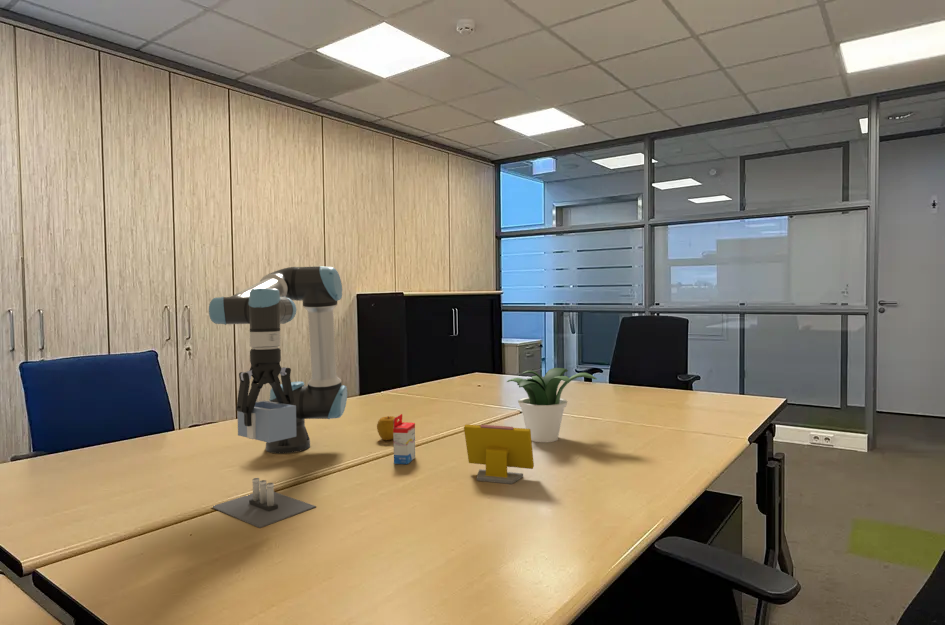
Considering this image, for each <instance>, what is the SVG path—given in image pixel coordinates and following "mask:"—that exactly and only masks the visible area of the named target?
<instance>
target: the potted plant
mask: <svg viewBox="0 0 945 625" xmlns="http://www.w3.org/2000/svg"><path fill="white" fill-rule="evenodd" d="M568 371H569V370H568V369H567V368H563V367H553V368H550V369H549V370H548V371H547V372H546V373H545V374H544V376H541V375H540V374H539V373H537V372H536V371H534V370H531V369H530V370H529V369H528V370H526V371H523V372H522V373H521V375H523V374H524V375H525V374H533V376H531V378H520V377H515V378H511V379H508V380H506V383H509V382H514V383H517V386H518V388H523V390H524V391H525V393H526V394H527V396H528V397H523V398H520V399H518V400H517V402H518V405H519V407H520V408H521V414H522V417H523V422H524V426H525V429H530V430H531V441H532V442H537V443H551V442H552V443H553V442H557V441H558V439H559V434H560V429H561V425H562V420H563V414H564V410H565V408H566V407H567V404H568V401H567V399H564V398H561V396H562V392H563V390H564V389H565V388H566V387H567V385H568V384H569V383H570V382H572V381H573V380H576V379H578V378H589V379H593V380H597V377H595V375H592V374H590V373H588V372H579V373H575V374H574V375H571V376H570V377H569V376H567V375H565V373H567V372H568ZM561 381H563V383H562V384H561ZM560 384H561V386H560V387H559V385H560ZM558 388H559V389H558Z"/></svg>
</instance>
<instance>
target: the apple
mask: <svg viewBox="0 0 945 625" xmlns="http://www.w3.org/2000/svg"><path fill="white" fill-rule="evenodd" d="M396 417H397V416H396ZM396 417H395V416H390V415H388V416H382V417H380V418H379V419H378V421H377V423H376V429H377V433H378V435H379V437H380V439H382V440H383V441H391V440H393V424H394V418H396ZM398 421H399V419H398V420H397V422H398Z"/></svg>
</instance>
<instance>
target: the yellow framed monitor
mask: <svg viewBox="0 0 945 625" xmlns="http://www.w3.org/2000/svg"><path fill="white" fill-rule="evenodd" d="M463 431H464V437H465V445H466V446H465V447H466V451H467V452H466V454H467V459H468V463H469V464H476V465H485V469H481V468H480V469H479V470H478V473H477V475H476V481H479V482H486V483H487V482H489V483H497V484H498V483H499V484H509V485H513V484H514V483H515V482H517V481H519V480H520V479H521V478H523V477H524V473H522V472H521V473H520V472H512V471H508V468H517V469H531V470H533V469H534V467H535V463H534V454H533V453H534V451H533V441H531V430H530V429H526V427H525V428H523V427H520V428H519V427H514V426H505V425H504V426H503V425H494V424H493V425H492V424H490V425H489V424H481V425H477V424H467V423H466V424H465V425H464V427H463Z"/></svg>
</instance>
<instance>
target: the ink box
mask: <svg viewBox="0 0 945 625" xmlns="http://www.w3.org/2000/svg"><path fill="white" fill-rule="evenodd" d="M397 420H398V422H397ZM392 440H393V464H395V465H409V464H410V463H411V462H412V461H413V460H414V459H415V458H416V423H415V422H405V421H404V422H403V413H401V414H398V415H397V416H396V418H394V424H393V439H392Z"/></svg>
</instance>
